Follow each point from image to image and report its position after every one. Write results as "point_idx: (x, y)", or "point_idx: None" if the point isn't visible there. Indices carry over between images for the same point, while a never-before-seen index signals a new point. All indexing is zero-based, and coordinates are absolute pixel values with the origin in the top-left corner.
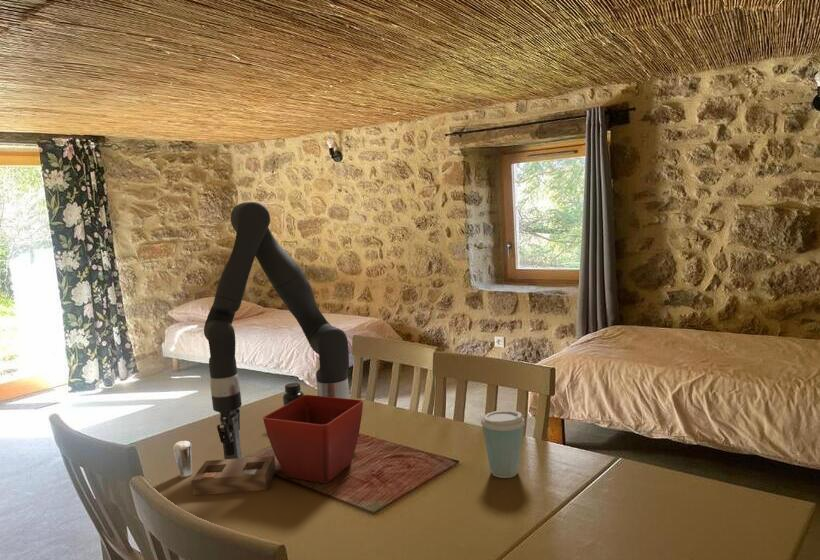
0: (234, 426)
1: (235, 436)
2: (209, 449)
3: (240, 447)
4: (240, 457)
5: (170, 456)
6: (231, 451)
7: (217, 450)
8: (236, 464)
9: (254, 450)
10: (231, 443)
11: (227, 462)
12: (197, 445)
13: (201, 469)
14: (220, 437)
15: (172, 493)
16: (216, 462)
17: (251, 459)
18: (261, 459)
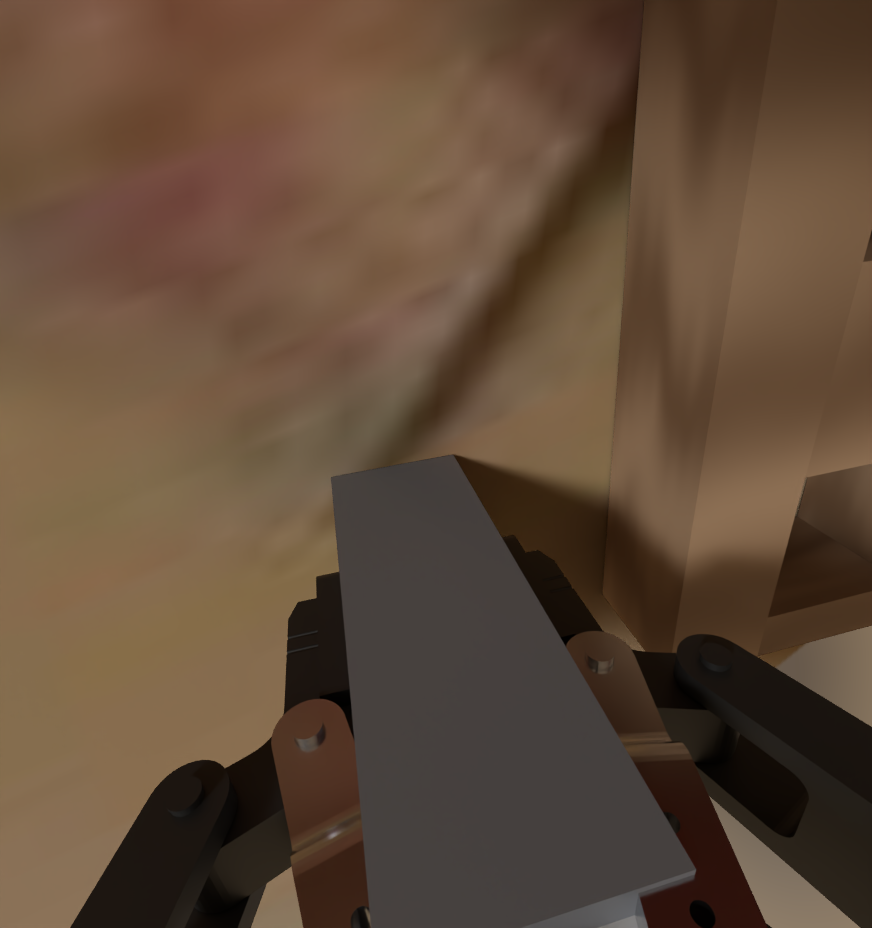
0: (676, 861)
1: (571, 667)
2: (143, 806)
3: (344, 547)
4: (376, 487)
5: (292, 915)
6: (556, 567)
7: (152, 751)
8: (860, 371)
9: (82, 447)
10: (566, 633)
11: (770, 488)
12: (83, 903)
13: (822, 625)
14: (806, 795)
15: (782, 649)
16: (732, 584)
17: (799, 232)
18: (854, 61)
